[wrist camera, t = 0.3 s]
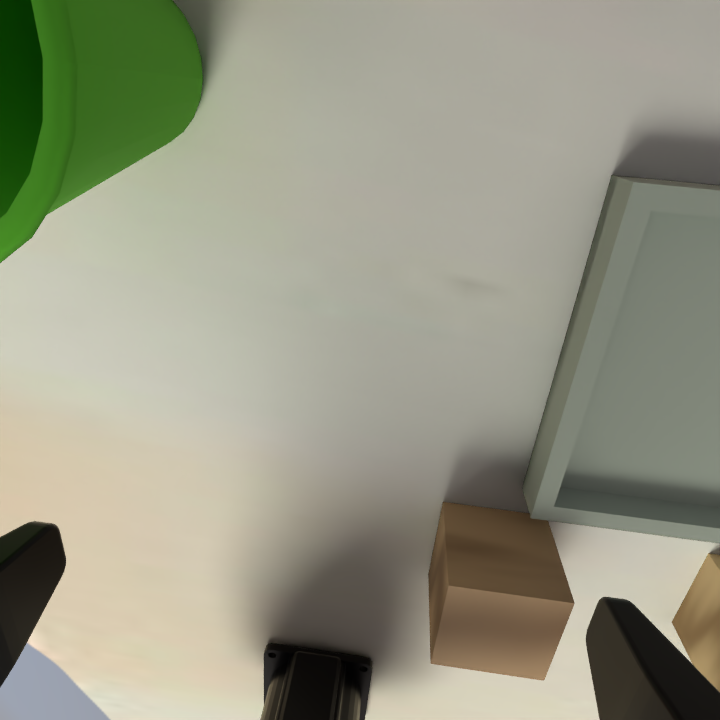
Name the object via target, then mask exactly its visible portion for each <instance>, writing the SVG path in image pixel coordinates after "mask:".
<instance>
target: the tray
mask: <svg viewBox="0 0 720 720" xmlns="http://www.w3.org/2000/svg"><path fill="white" fill-rule="evenodd" d="M522 489H523V493H524V496H525V500H526V503H527V507H528V510H529V514H530V518H532V519H540V520H547V521H555V522H562V523H570V524H577V525H585V526H592V527H600V528H607V529H615V530H622V531H630V532H637V533H645V534H652V535H660V536H667V537H675V538H682V539H690V540H697V541H705V542H712V543H720V186H719V185H709V184H698V183H688V182H678V181H668V180H657V179H647V178H637V177H626V176H616V175H612V176H611V180H610V183H609V187H608V190H607V194H606V197H605V201H604V204H603V208H602V211H601V215H600V218H599V222H598V225H597V229H596V232H595V236H594V239H593V243H592V246H591V250H590V253H589V257H588V260H587V264H586V267H585V271H584V274H583V278H582V281H581V285H580V288H579V292H578V295H577V299H576V302H575V306H574V309H573V312H572V316H571V319H570V323H569V326H568V330H567V333H566V337H565V340H564V344H563V347H562V351H561V354H560V358H559V361H558V365H557V368H556V372H555V375H554V379H553V382H552V386H551V389H550V393H549V396H548V400H547V403H546V407H545V410H544V414H543V417H542V421H541V424H540V428H539V431H538V435H537V438H536V442H535V445H534V449H533V452H532V456H531V459H530V463H529V466H528V470H527V473H526V477H525V480H524V484H523V487H522Z"/></svg>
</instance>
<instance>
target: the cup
mask: <svg viewBox="0 0 720 720" xmlns="http://www.w3.org/2000/svg"><path fill="white" fill-rule="evenodd" d="M202 83H203V74H202V62H201V56H200V52H199V49H198V45H197V42H196V38H195V35H194V33H193V31H192V29H191V27H190V26H189V24H188V22H187V20H186V18H185V16H184V14H183V13H182V12H181V11H180V9H179V8H178V7H177V6H176V4H175V3H174V2H173V0H0V263H1V262H2V261H3V260H5V259H6V258H7V257H8V256H10V255H11V254H12V253H13V252H15V251H16V250H17V249H18V248H19V247H21V246H22V245H23V244H24V243H26V242H27V241H28V240H29V239H31V238H32V237H33V235H34V234H35V232H36V230H37V229H38V227H39V226H40V224H41V223H42V221H43V219H44V218H45V216H46V215H47V214H49V213H50V212H52V211H54V210H55V209H57V208H59V207H60V206H62V205H64V204H66V203H67V202H69V201H71V200H72V199H74V198H76V197H77V196H79V195H81V194H83V193H84V192H86V191H88V190H89V189H91V188H93V187H94V186H96V185H98V184H100V183H101V182H103V181H105V180H106V179H108V178H110V177H112V176H113V175H115V174H117V173H118V172H120V171H122V170H123V169H125V168H127V167H129V166H130V165H132V164H134V163H135V162H137V161H139V160H140V159H142V158H144V157H146V156H147V155H149V154H151V153H152V152H154V151H156V150H157V149H159V148H161V147H163V146H164V145H166V144H168V143H169V142H171V141H172V140H173V139H175V138H176V137H177V136H179V135H180V134H181V133H182V132H184V130H185V129H186V127H187V126H188V125H189V123H190V122H191V120H192V119H193V118H194V115H195V113H196V110H197V107H198V105H199V102H200V99H201V91H202Z"/></svg>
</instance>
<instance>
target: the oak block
mask: <svg viewBox="0 0 720 720" xmlns="http://www.w3.org/2000/svg"><path fill="white" fill-rule="evenodd" d="M672 623H673V625H674V627H675V629H676V631H677V633H678V635H679V637H680V639H681V642H682V644H683V646H684V648H685V650H686V652H687V654H688V656H689V658H690V660H691V662H692V664H693V665H694V666H695V668H696V669H697V670H698V671H699V672H700V673H701V674H702V675H703V676H704V677H705V678H706V679H707V680H708V681H709V682H710V683H711V684H712V685H713V686H714V687H715V688H716V689H717V690H718V691H719V692H720V555H716V554H709V553H708V555H707V557H706V559H705V561H704V563H703V565H702V566H701V568H700V570H699V572H698V574H697V576H696V578H695V580H694V581H693V583H692V585H691V587H690V589H689V591H688V593H687V595H686V596H685V598H684V600H683V602H682V604H681V606H680V608H679V610H678V611H677V613H676V615H675V617H674V619H673V621H672Z"/></svg>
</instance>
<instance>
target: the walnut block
mask: <svg viewBox="0 0 720 720" xmlns="http://www.w3.org/2000/svg"><path fill="white" fill-rule="evenodd" d="M428 578H429V617H430V656H431V664H437V665H443V666H450V667H457V668H463V669H470V670H477V671H483V672H490V673H497V674H504V675H510V676H517V677H524V678H530V679H537V680H544V679H545V677H546V674H547V672H548V669H549V667H550V664H551V662H552V659H553V657H554V654H555V651H556V649H557V646H558V644H559V641H560V639H561V636H562V634H563V631H564V629H565V626H566V624H567V621H568V619H569V616H570V614H571V611H572V609H573V606H574V600H573V597H572V594H571V591H570V588H569V585H568V581H567V578H566V575H565V572H564V569H563V566H562V563H561V560H560V557H559V553H558V550H557V547H556V544H555V541H554V538H553V535H552V532H551V529H550V525H549V522H548V521H547V520H540V519H532V518H530V514H529V513H523V512H515V511H508V510H500V509H493V508H485V507H477V506H470V505H462V504H455V503H447V502H443V504H442V509H441V514H440V519H439V524H438V529H437V534H436V539H435V544H434V549H433V554H432V559H431V564H430V569H429V574H428Z"/></svg>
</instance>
